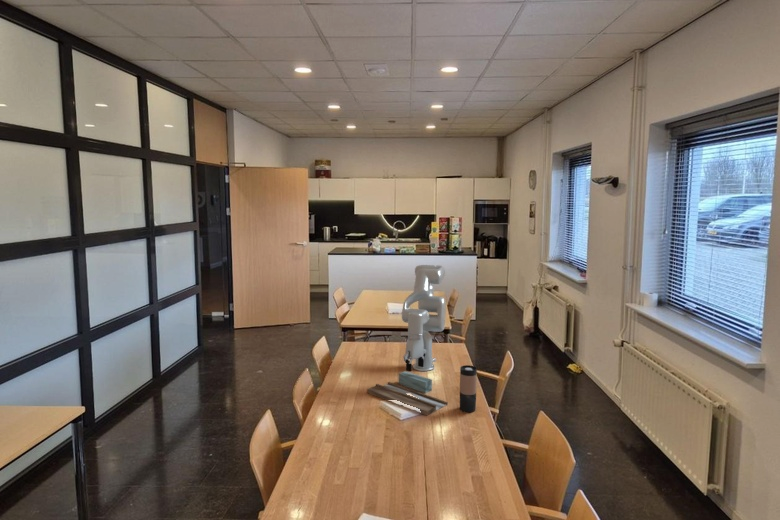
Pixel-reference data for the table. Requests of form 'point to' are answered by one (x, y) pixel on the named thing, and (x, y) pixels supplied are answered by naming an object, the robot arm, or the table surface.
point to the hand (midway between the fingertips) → (414, 368)
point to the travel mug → (468, 388)
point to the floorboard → (407, 397)
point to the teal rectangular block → (415, 382)
